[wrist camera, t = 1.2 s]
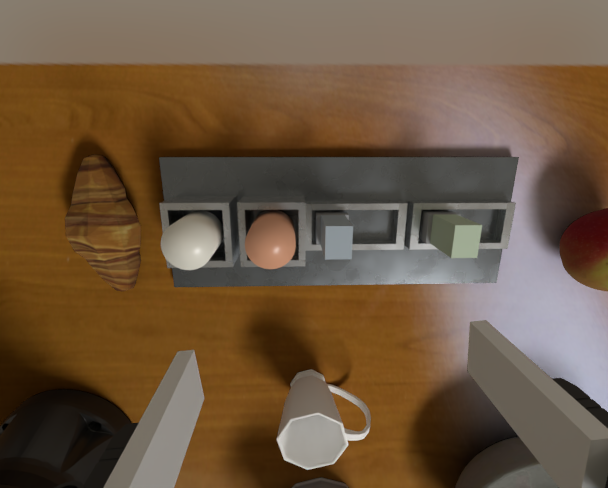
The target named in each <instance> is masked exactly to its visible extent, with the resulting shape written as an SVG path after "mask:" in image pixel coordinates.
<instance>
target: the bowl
mask: <svg viewBox="0 0 608 488" xmlns="http://www.w3.org/2000/svg"><path fill="white" fill-rule="evenodd" d="M455 488H559V487H558V486H557V484H556V483H555V482H554V481H553V479H552V478H551V477H550V475H549V474H548V473H547V472H546V470H545V469H544V468H543V467H542V465H541V464H540V463H539V462H538V460H537V459H536V458H535V456H534V455H533V454H532V453H531V451H530V450H529V449H528V448H527V446H526V445H525V444H524V442H523V441H522V440H521V439H520V437H516V438H510V439H506V440H503V441H500V442H498V443H495V444H494V445H492V446H490V447H488V448H486V449H485V450H483V451H482V452H480V453H479V454H477V455H476V456H475V457H474V458H473V459H472V460H471V461H470V462H469V463H468V464H467V466H466V467H465V468H464V470H463V471H462V473H461V475H460V477H459V479H458V481H457V484H456V486H455Z"/></svg>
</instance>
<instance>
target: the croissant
mask: <svg viewBox="0 0 608 488" xmlns="http://www.w3.org/2000/svg"><path fill="white" fill-rule="evenodd" d="M65 226H66V237H67V238H68V240H69V242H70V244H71V246H72V248H73V249H74V251H75V252H76V253H78V254H79V255H81V256H82V257H84V258H85V259H86V260H87V261H88V263H89V264H90V265H91V266H92V268H93V269H94V270H95V271H96V272H97V273H98V274H99V275H100V276H101V277H102V279H103V280H104V281H105V282H107V283H108V284H109V285H110V286H112V287H113V288H114V289H115V290H117V291H126V290H129V289H132V288H134V286H135V283H136V279H137V276H138V271H139V267H140V262H141V258H140V254H139V249H140V245H141V225H140V223H139V220H138V218H137V216H136V214H135V211H134V209H133V207H132V205H131V204H130V202H129V201H128V199H127V198H126V191H125V187H124V186H123V184H122V182H121V180H120V178H119V177H118V175H117V173H116V171H115V170H114V168H113V167H112V165H111V164H110V163H109V161H108V160H107V158H106V157H104V156H100V155H95V154H94V155H91V156H88V157H86V158H84V159H83V161H82V163H81V166H80V168H79V171H78V174H77V178H76V182H75V187H74V191H73V195H72V202H71V206H70V208H69V211H68V213H67V215H66V217H65Z"/></svg>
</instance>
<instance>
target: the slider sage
mask: <svg viewBox="0 0 608 488" xmlns="http://www.w3.org/2000/svg"><path fill="white" fill-rule="evenodd" d="M481 230H482V225H481V224H478V223H476V222H474V221H471V220H469V219H466V218H464V217H462V216H461V214H459V213H456V212H454V211H422V214H421V224H420V233H419V239H421V240H422V241H423V242H425V243H430V244H432V245H433V246H435V247H436V248H437V249H439V250H440V251H442V252H443V253H444V254H446V255H447V256H449V257H450V258H477V256H478V249H479V243H480V237H481Z"/></svg>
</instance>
